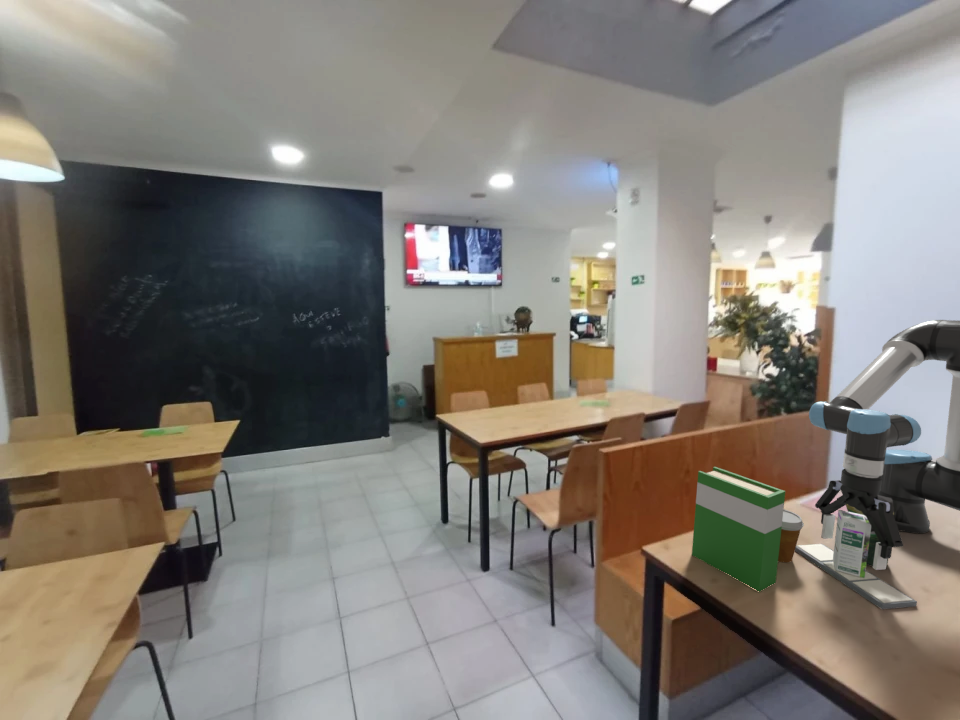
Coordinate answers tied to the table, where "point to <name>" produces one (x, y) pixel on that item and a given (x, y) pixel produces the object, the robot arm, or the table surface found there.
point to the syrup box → (851, 543)
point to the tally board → (857, 579)
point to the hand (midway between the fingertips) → (851, 552)
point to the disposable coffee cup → (789, 535)
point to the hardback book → (738, 526)
